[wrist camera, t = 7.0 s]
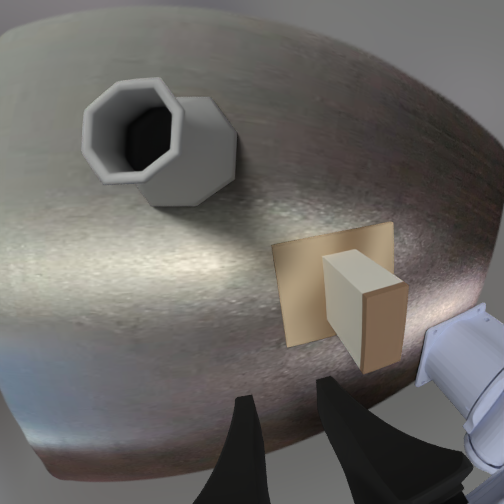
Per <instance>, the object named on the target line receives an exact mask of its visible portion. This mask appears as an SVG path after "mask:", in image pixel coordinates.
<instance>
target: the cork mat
mask: <svg viewBox="0 0 504 504" xmlns="http://www.w3.org/2000/svg"><path fill="white" fill-rule="evenodd" d="M271 246H272V252H273V258H274V265H275V271H276V278H277V284H278V291H279V297H280V304H281V310H282V317H283V324H284V331H285V338H286V345H287V347H292V346H296V345H300V344H304V343H308V342H312V341H316V340H320V339H323V338H327V337H331V336H334V335H337V334H336V332H335V331H334V329H333V328H332V326H331V325H330V323H329V322H328V320H327V311H326V296H325V283H324V271H323V260H322V256H326V255H331V254H335V253H340V252H344V251H349V250H353V249H356V250H358V251H359V252H361V253H362V254H364V255H365V256H367V257H368V258H370V259H371V260H373V261H374V262H376V263H377V264H379V265H380V266H382V267H383V268H385V269H386V270H387V271H389V272H390V273H392V274H393V275H394V232H393V222H386V223H380V224H375V225H370V226H365V227H360V228H355V229H350V230H345V231H340V232H334V233H329V234H324V235H319V236H314V237H309V238H304V239H299V240H294V241H289V242H284V243H279V244H274V245H271Z"/></svg>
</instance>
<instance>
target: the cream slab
mask: <svg viewBox="0 0 504 504" xmlns="http://www.w3.org/2000/svg"><path fill="white" fill-rule="evenodd" d="M322 260H323V271H324V283H325V296H326V311H327V320H328V322H329V323H330V325H331V326H332V328H333V329H334V331H335V332H336V334H337V335H338V337H339V338H340V340H341V341H342V343H343V344H344V346H345V347H346V349H347V350H348V352H349V353H350V355H351V356H352V358H353V360H354V361H355V363H356V364H357V366H358V367H359V369H360V370H361V372H362V373H363V374H366V373H369V372H372V371H375V370H377V369H380V368H383V367H385V366H388V365H390V364H393V363H395V362H398V361H400V358H401V352H402V346H403V339H404V331H405V322H406V313H407V302H408V288H409V285H408V284H406V283H405V282H403V281H402V280H400V279H399V278H398V277H396V276H395V275H393V274H392V273H390V272H389V271H387V270H386V269H385V268H383V267H382V266H380V265H379V264H377V263H376V262H374V261H373V260H371V259H370V258H368V257H367V256H365V255H364V254H362V253H361V252H359V251H358V250H356V249H353V250H349V251H344V252H340V253H335V254H331V255H326V256H322Z"/></svg>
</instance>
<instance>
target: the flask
mask: <svg viewBox="0 0 504 504" xmlns="http://www.w3.org/2000/svg"><path fill="white" fill-rule="evenodd" d="M236 148H237V132H236V130H235V129H234V128H233V126H232V125H231V123H230V122H229V121H228V119H227V118H226V117H225V115H224V114H223V112H222V111H221V110H220V108H219V107H218V106H217V104H216V103H215V102H214V100H213V99H212V98H211V97H175V96H174V95H173V93H172V92H171V91H170V89H169V88H168V87H167V85H166V84H165V83H164V81H163V80H162V79H161V78H160V77H153V78H142V79H132V80H124V81H117V82H116V83H115V84H114V85H112V86H111V87H110V88H109V89H108V90H106V91H105V92H104V93H103V94H102V95H100V96H99V97H98V98H97V99H96V100H95V101H94V102H92V103H91V104H90V105H89V106H88V107H87V108H86V109H85V110H84V117H83V129H82V145H81V152H82V154H83V156H84V157H85V159H86V160H87V162H88V163H89V165H90V166H91V168H92V169H93V171H94V173H95V174H96V176H97V177H98V179H99V180H100V181H101V183H102V184H103V185H117V184H135V185H136V186H137V187H138V189H139V190H140V192H141V193H142V194H143V196H144V197H145V198H146V200H147V201H148V203H149V204H150V205H151V206H198V205H199V204H200V203H202V202H203V201H205V200H206V199H207V198H209V197H210V196H212V195H213V194H214V193H216V192H217V191H219V190H220V189H222V188H223V187H224V186H226V185H227V184H229V183H230V182H232V181H233V180H235V168H236Z"/></svg>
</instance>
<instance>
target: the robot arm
mask: <svg viewBox="0 0 504 504" xmlns="http://www.w3.org/2000/svg"><path fill="white" fill-rule="evenodd" d="M485 308H486V304H485V303H481V304H479V305H477V306H475V307H473V308H471V309H469V310H467V311H465V312H463V313H461V314H459V315H457V316H455V317H453V318H451V319H449V320H447V321H445V322H442V323H440V324H438V325H436V326H434V327H431V328H429V329H428V330H427V332H426V335H425V340H424V346H423V351H422V355H421V360H420V364H419V369H418V373H417V377H416V381H415V386H416V387H420V386H422V385H424V384H426V383H428V382H430V381H432V380H433V381H434V383H435V384H436V385H437V386H438V387H439V388H440V390H441V391H442V392H443V393H444V394H445V395H446V396H447V398H448V399H449V400H450V401H451V402H452V404H453V405H454V406H455V407H456V408H457V410H458V411H459V412H460V413H461V414H462V415H463V417H464V418H465V419H466V420H467V421H466V422H465V424H464V425H463V428H464V429H465V430H466V431H467V432H466V434H465V436H464V447H465V452H466V454H467V456H468V458H469V459H468V458H467V457H466V456H465V455H464V454H463V453H462V452H460V451H455V450H451V449H446V448H442V447H439V446H436V445H433V444H430V443H427V442H424V441H422V440H419V439H417V438H415V437H412V436H410V435H408V434H405V433H403V432H402V431H400V430H398V429H396V428H394V427H392V426H391V425H389V424H387V423H386V422H384V421H383V420H381V419H380V418H378V417H377V416H376V415H374V414H373V413H371V412H370V411H369V410H367V409H366V408H365V407H364V406H363V405H361V404H360V403H359V402H358V401H356V400H355V399H354V398H353V397H352V396H351V395H350V394H349V393H348V392H347V391H345V390H344V389H343V388H342V387H341V386H340V385H339V384H338V382H337V381H336V380H335V379H334V378H333V377H331V376H328V377H325V378H321V379H318V380H316V385H317V407H318V412H319V415H320V419H321V422H322V425H323V428H324V430H325V432H326V434H327V436H328V439H329V441H330V443H331V445H332V447H333V449H334V451H335V453H336V455H337V457H338V459H339V461H340V464H341V466H342V468H343V470H344V473H345V476H346V478H347V481H348V484H349V487H350V490H351V493H352V497H353V500H354V503H355V504H504V324H503V323H501V322H500V321H499V320H497V319H495V318H494V317H493V316H491V315H490V314H488V313H487V312H486V311H485ZM470 461H471V462H472V463H473V464H474V465H475V466H476V467H477V468H479V469H480V470H483V471H486V472H488V473H489V474H491V475H492V476H491V477H489V478H488V479H487V480H486V481H484V482H483V483H482V484H481V485H479V486H478V487H477V488H475V489H474V490H473V491H471V492H470V493H469V494H467V495H466V496H464V494H463V492H462V490H463V489H464V487H463V485H462V484H461V482H462V481H463V480H464V479H465V478H466V477H467V476H468V475H469V474H470V473H471V471H472V470H473V465H472V463H471V462H470ZM193 504H271V503H270V498H269V493H268V487H267V475H266V463H265V451H264V441H263V436H262V431H261V426H260V421H259V418H258V414H257V411H256V407H255V404H254V400H253V396H252V395H247V396H241V397H237V398H236V399H235V406H234V412H233V417H232V421H231V425H230V429H229V432H228V435H227V439H226V442H225V444H224V447H223V450H222V452H221V455H220V457H219V459H218V462H217V464H216V466H215V468H214V470H213V472H212V474H211V476H210V478H209V479H208V481H207V483H206V484H205V486H204V488H203V489H202V491H201V493H200V494H199V496H198V497H197V499H196V500H195V501H194V502H193Z"/></svg>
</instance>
